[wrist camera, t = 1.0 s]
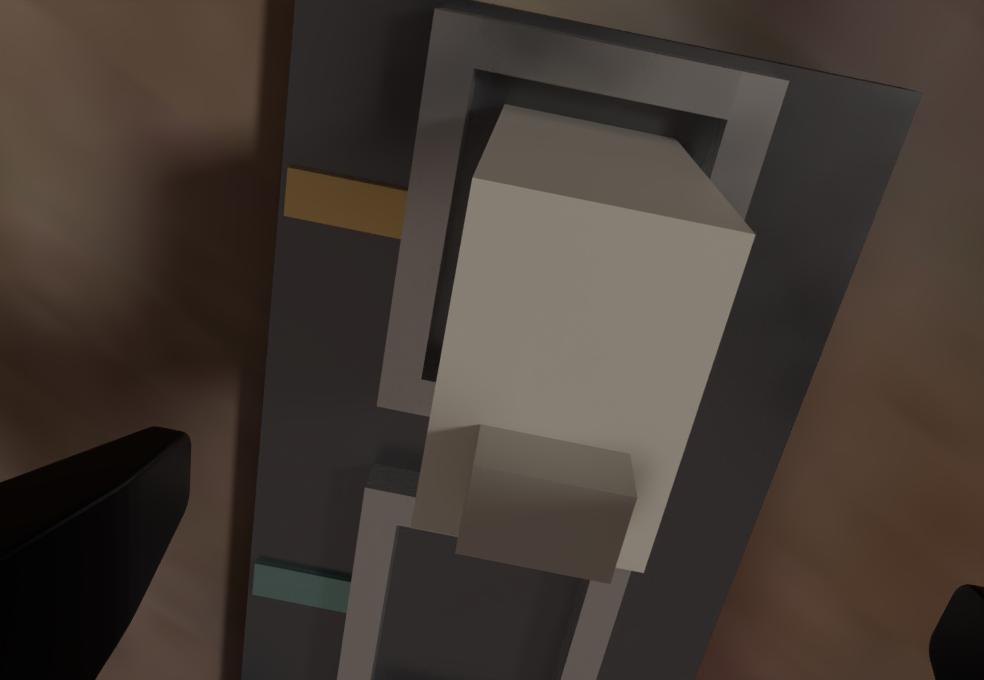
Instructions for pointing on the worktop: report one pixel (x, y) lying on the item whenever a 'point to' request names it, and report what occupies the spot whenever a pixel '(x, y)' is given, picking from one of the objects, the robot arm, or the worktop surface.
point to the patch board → (423, 317)
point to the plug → (575, 344)
